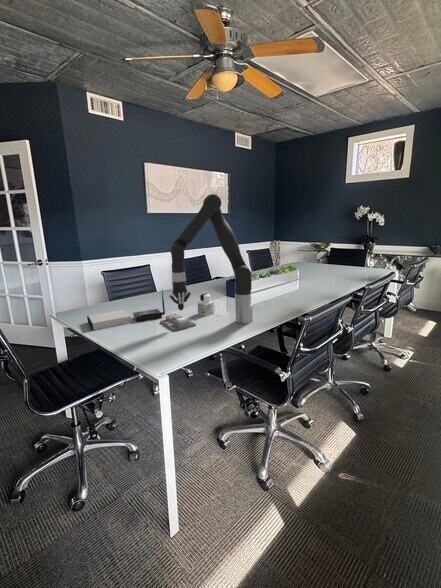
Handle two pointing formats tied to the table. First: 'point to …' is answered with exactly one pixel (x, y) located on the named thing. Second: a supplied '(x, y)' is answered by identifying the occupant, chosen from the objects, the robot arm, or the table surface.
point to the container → (205, 305)
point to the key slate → (176, 317)
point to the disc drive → (108, 319)
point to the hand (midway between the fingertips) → (181, 309)
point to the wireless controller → (149, 314)
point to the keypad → (176, 324)
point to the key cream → (181, 320)
